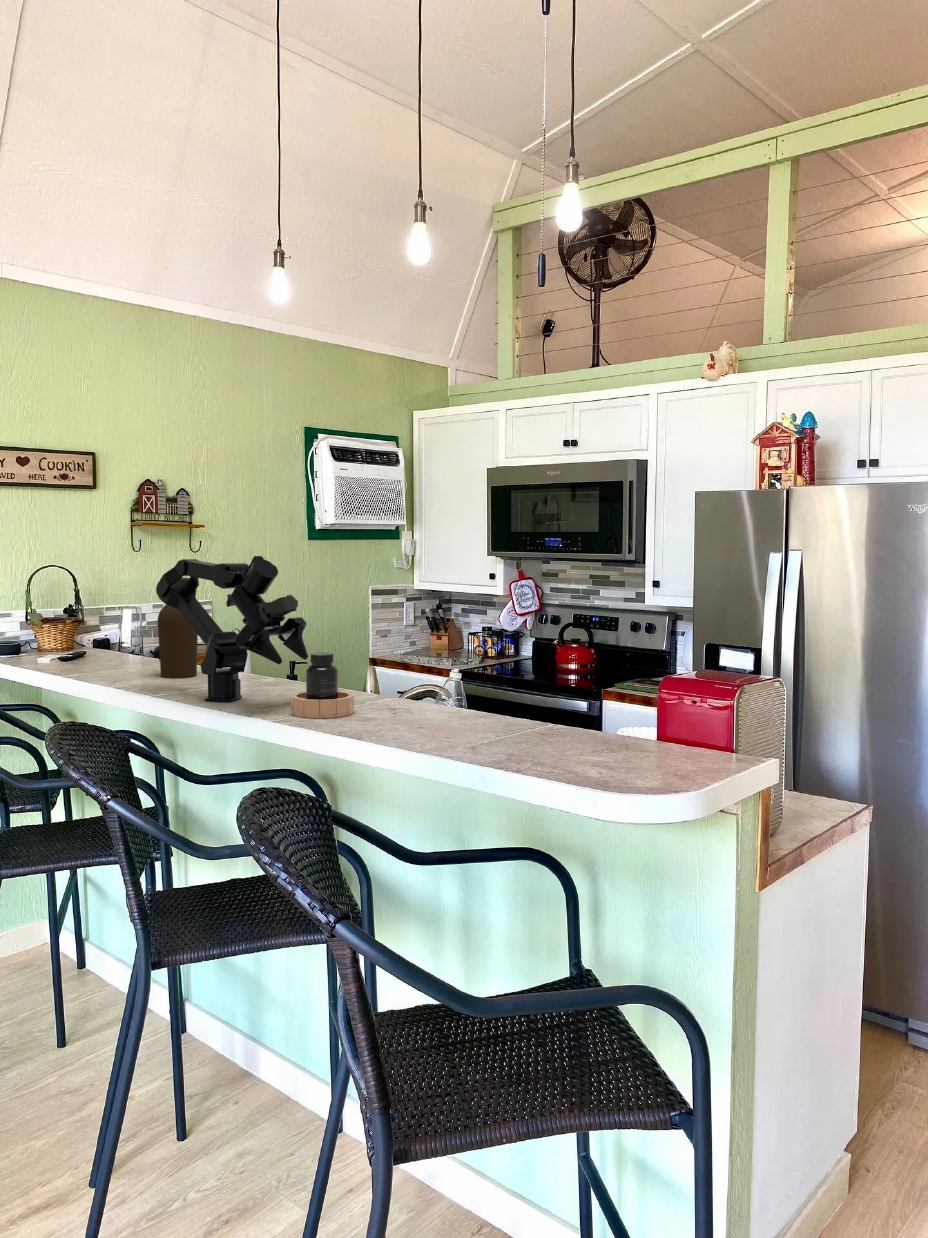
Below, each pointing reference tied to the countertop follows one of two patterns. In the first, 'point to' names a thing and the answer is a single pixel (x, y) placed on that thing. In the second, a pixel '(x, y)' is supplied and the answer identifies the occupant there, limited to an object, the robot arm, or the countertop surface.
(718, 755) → the countertop surface
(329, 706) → the terracotta bowl
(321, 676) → the supplement bottle
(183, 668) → the olive oil
